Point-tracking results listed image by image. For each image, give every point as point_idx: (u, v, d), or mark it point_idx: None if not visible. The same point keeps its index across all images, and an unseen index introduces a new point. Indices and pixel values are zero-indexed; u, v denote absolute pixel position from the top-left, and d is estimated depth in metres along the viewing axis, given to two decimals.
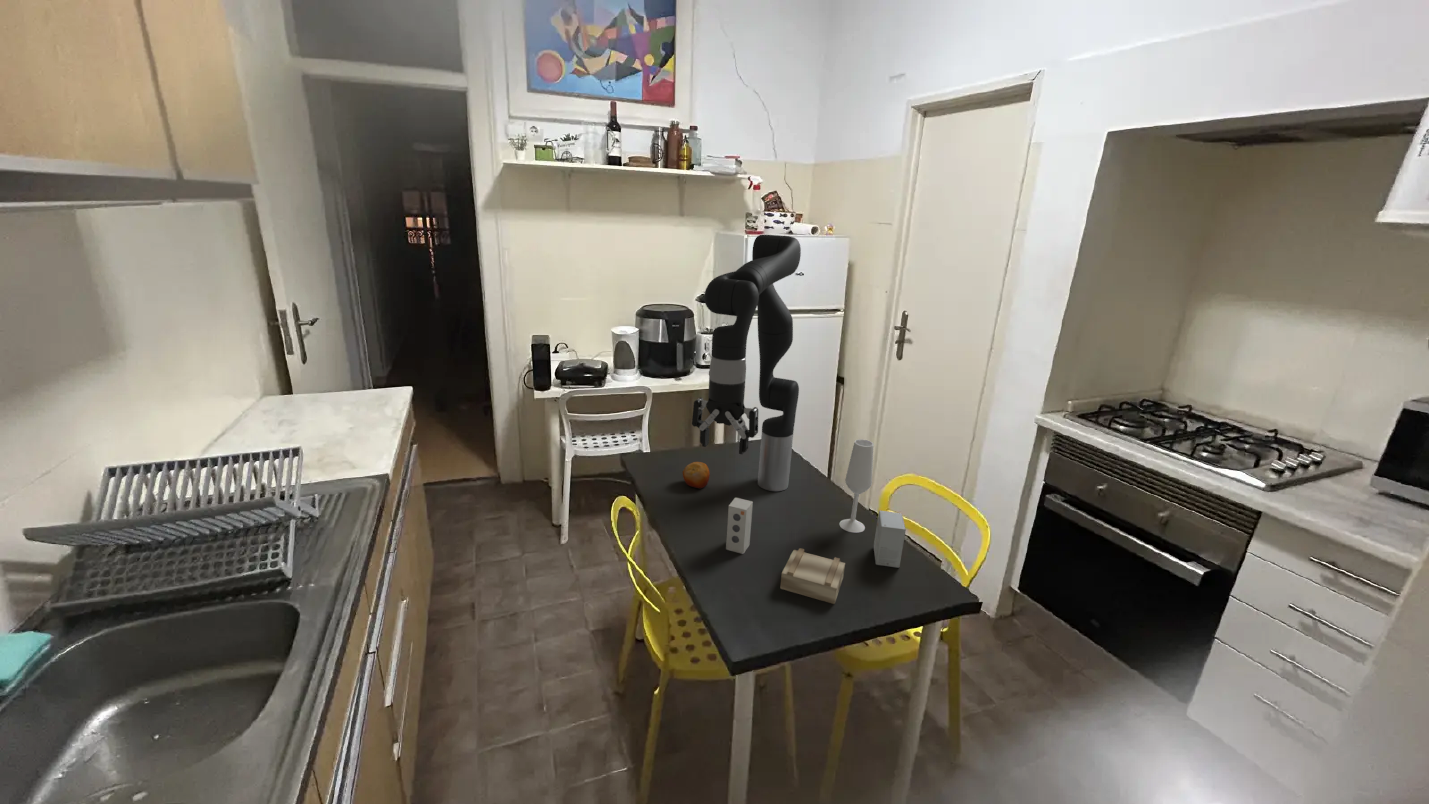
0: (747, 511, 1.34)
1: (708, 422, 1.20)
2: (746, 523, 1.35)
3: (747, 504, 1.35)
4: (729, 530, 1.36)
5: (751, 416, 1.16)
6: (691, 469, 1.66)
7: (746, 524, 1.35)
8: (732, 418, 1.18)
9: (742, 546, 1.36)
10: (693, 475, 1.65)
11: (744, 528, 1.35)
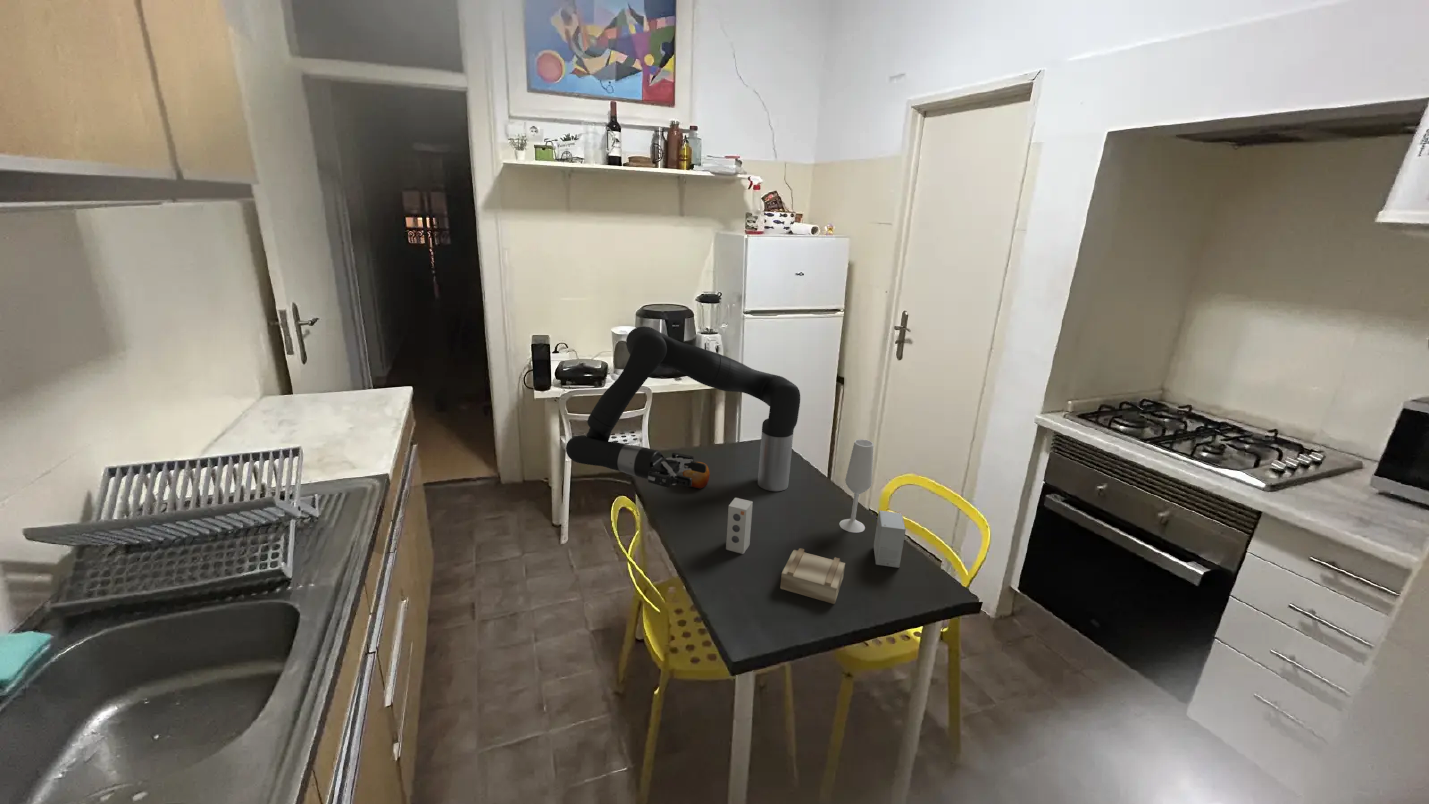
0: (747, 511, 1.34)
1: None
2: (746, 523, 1.35)
3: (747, 504, 1.35)
4: (729, 530, 1.36)
5: None
6: None
7: (746, 524, 1.35)
8: None
9: (742, 546, 1.36)
10: (693, 475, 1.65)
11: (744, 528, 1.35)
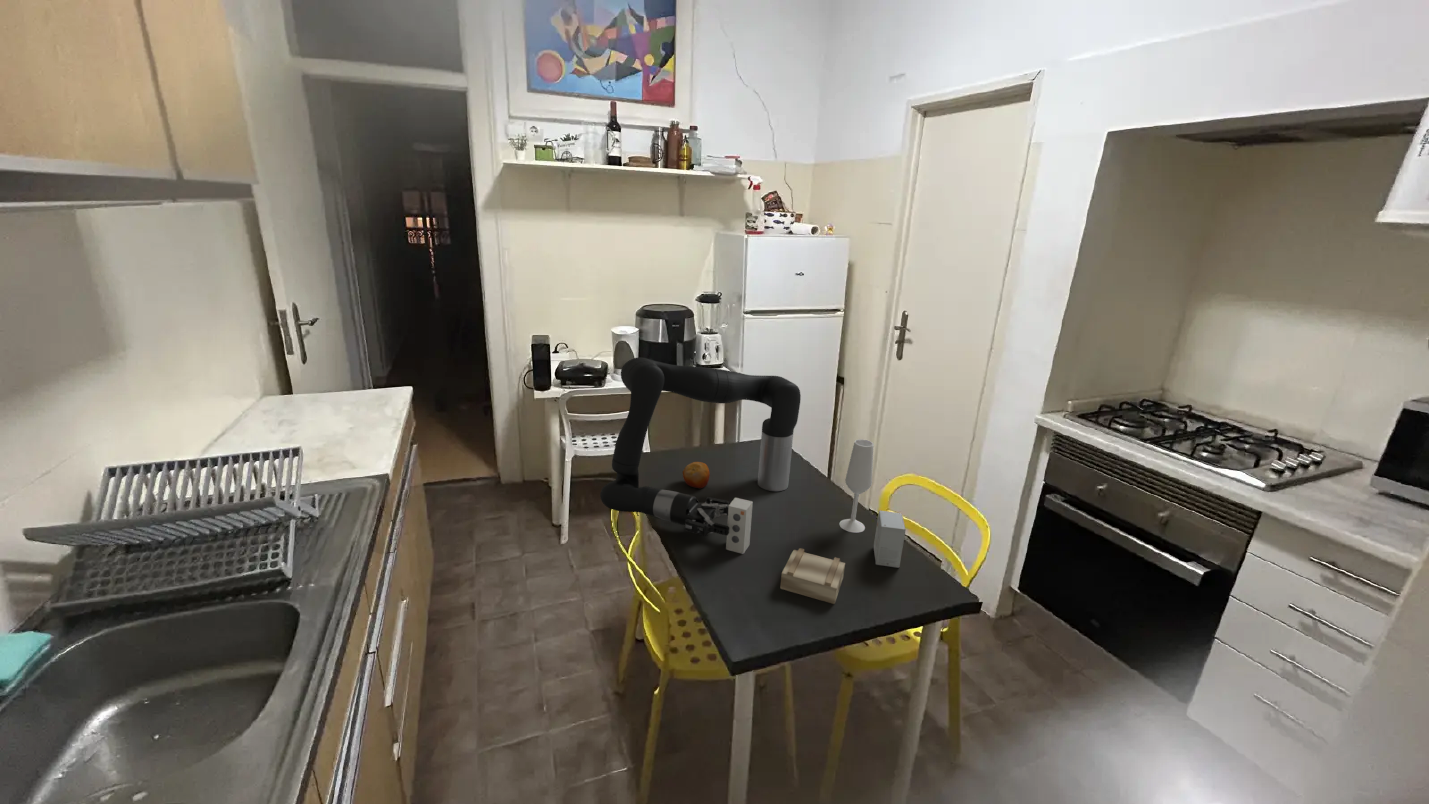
0: (747, 511, 1.34)
1: None
2: (746, 523, 1.35)
3: (747, 504, 1.35)
4: (729, 530, 1.36)
5: None
6: (691, 469, 1.66)
7: (746, 524, 1.35)
8: None
9: (742, 546, 1.36)
10: (693, 475, 1.65)
11: (744, 528, 1.35)
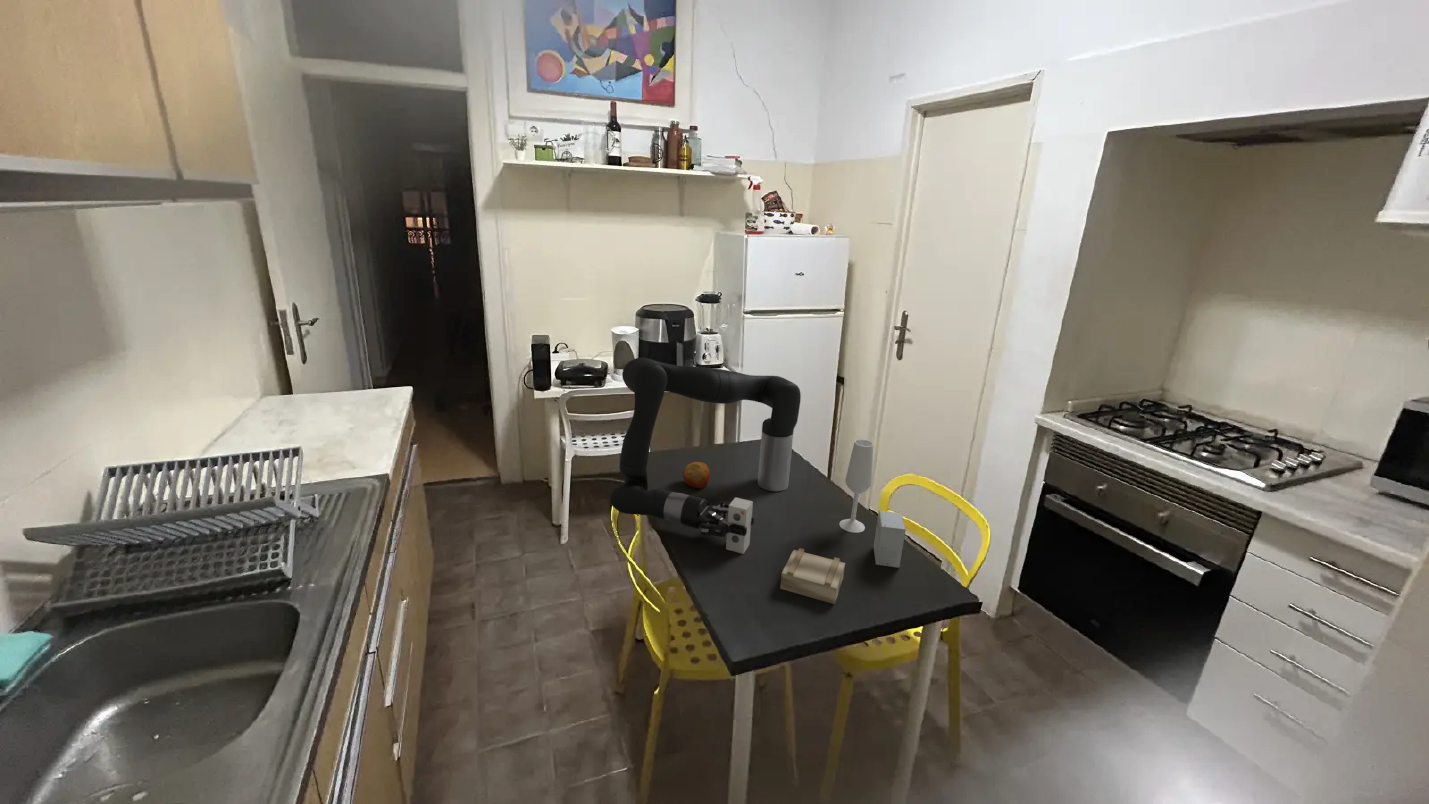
0: (747, 511, 1.34)
1: None
2: (746, 523, 1.35)
3: (747, 504, 1.35)
4: None
5: None
6: (691, 469, 1.66)
7: (746, 524, 1.35)
8: None
9: (742, 546, 1.36)
10: (693, 475, 1.65)
11: None
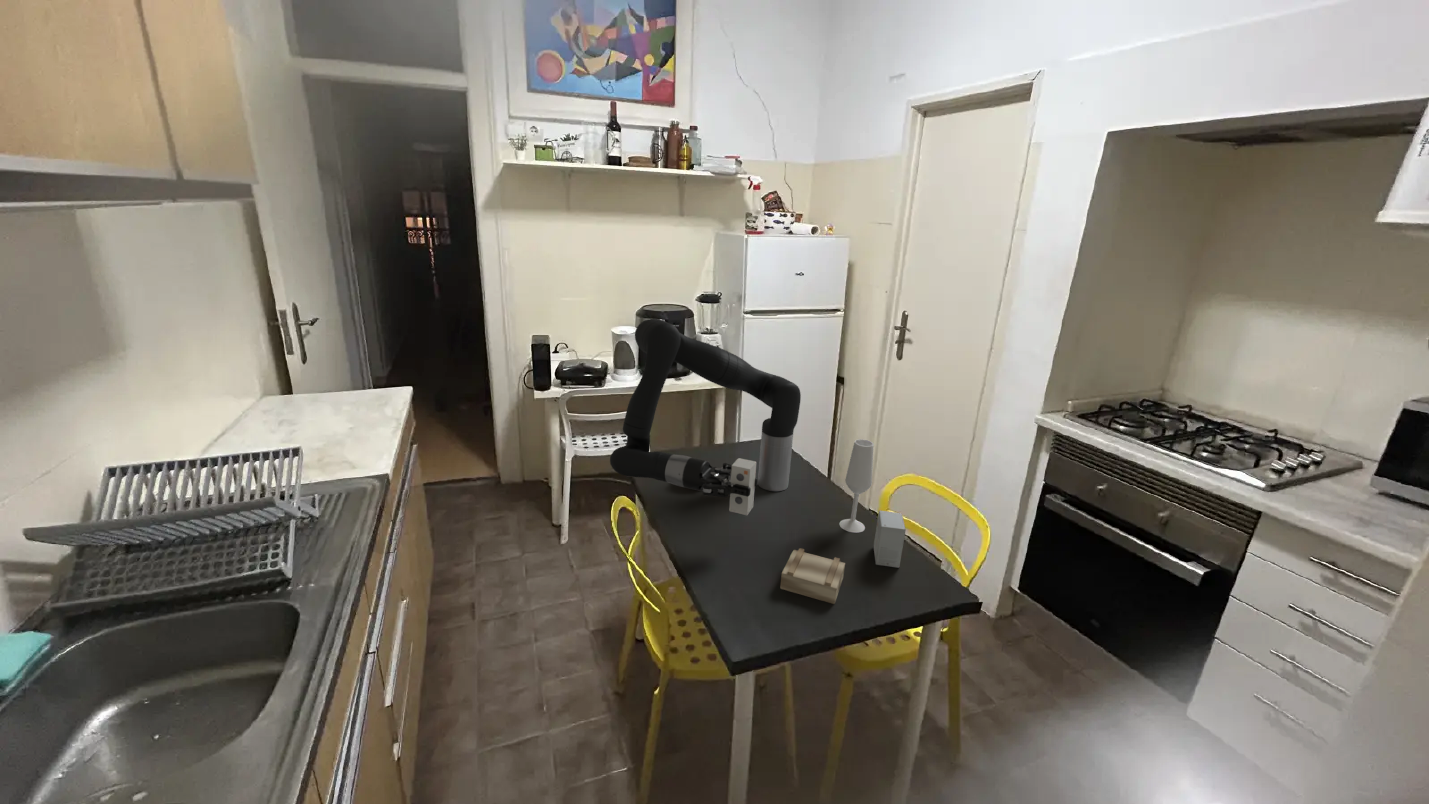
0: (751, 471, 1.30)
1: None
2: (750, 483, 1.31)
3: (751, 464, 1.32)
4: None
5: None
6: None
7: (750, 484, 1.32)
8: None
9: (746, 507, 1.33)
10: None
11: None
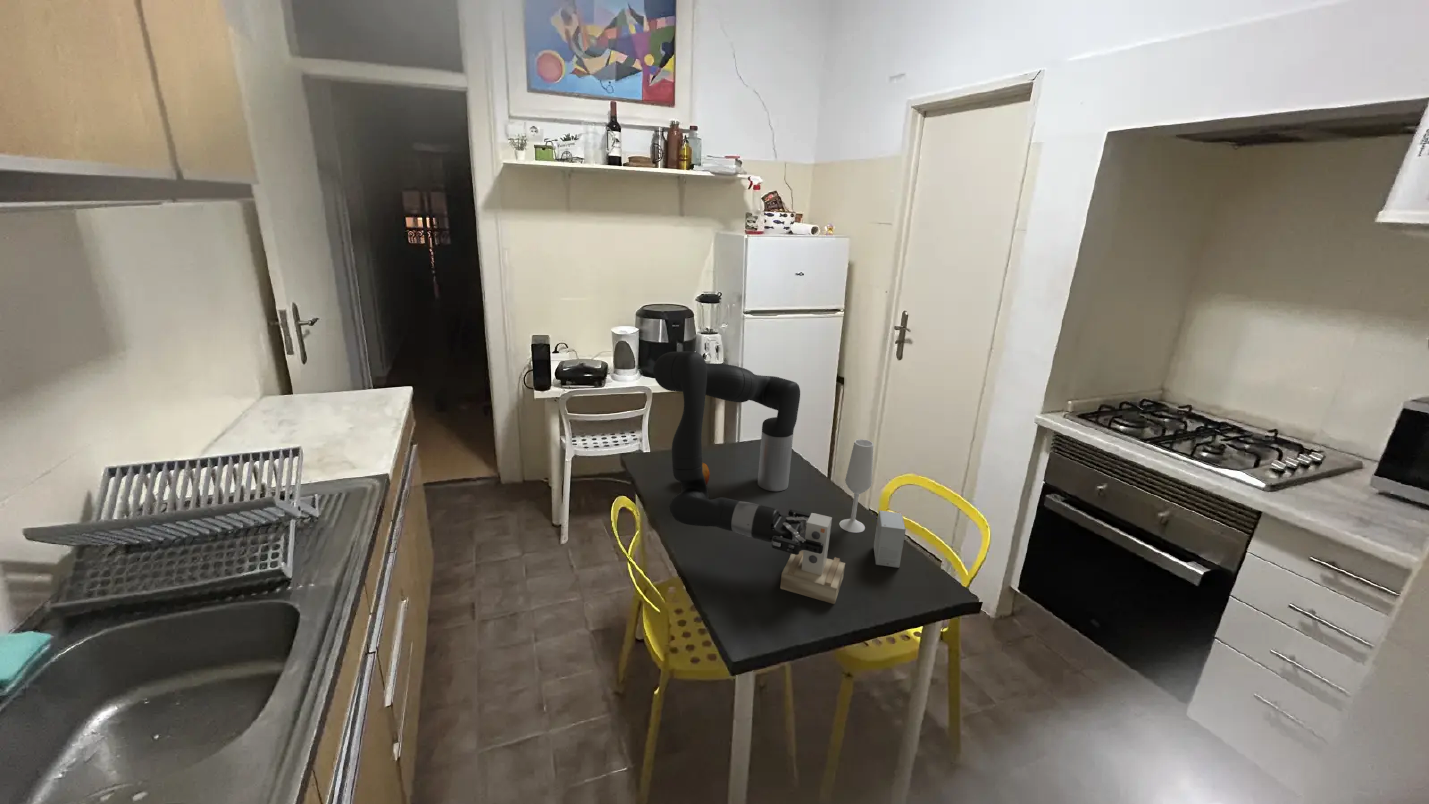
0: (828, 528, 1.21)
1: None
2: (826, 541, 1.21)
3: (827, 520, 1.22)
4: None
5: None
6: None
7: (826, 543, 1.22)
8: None
9: (820, 567, 1.23)
10: None
11: (824, 547, 1.21)
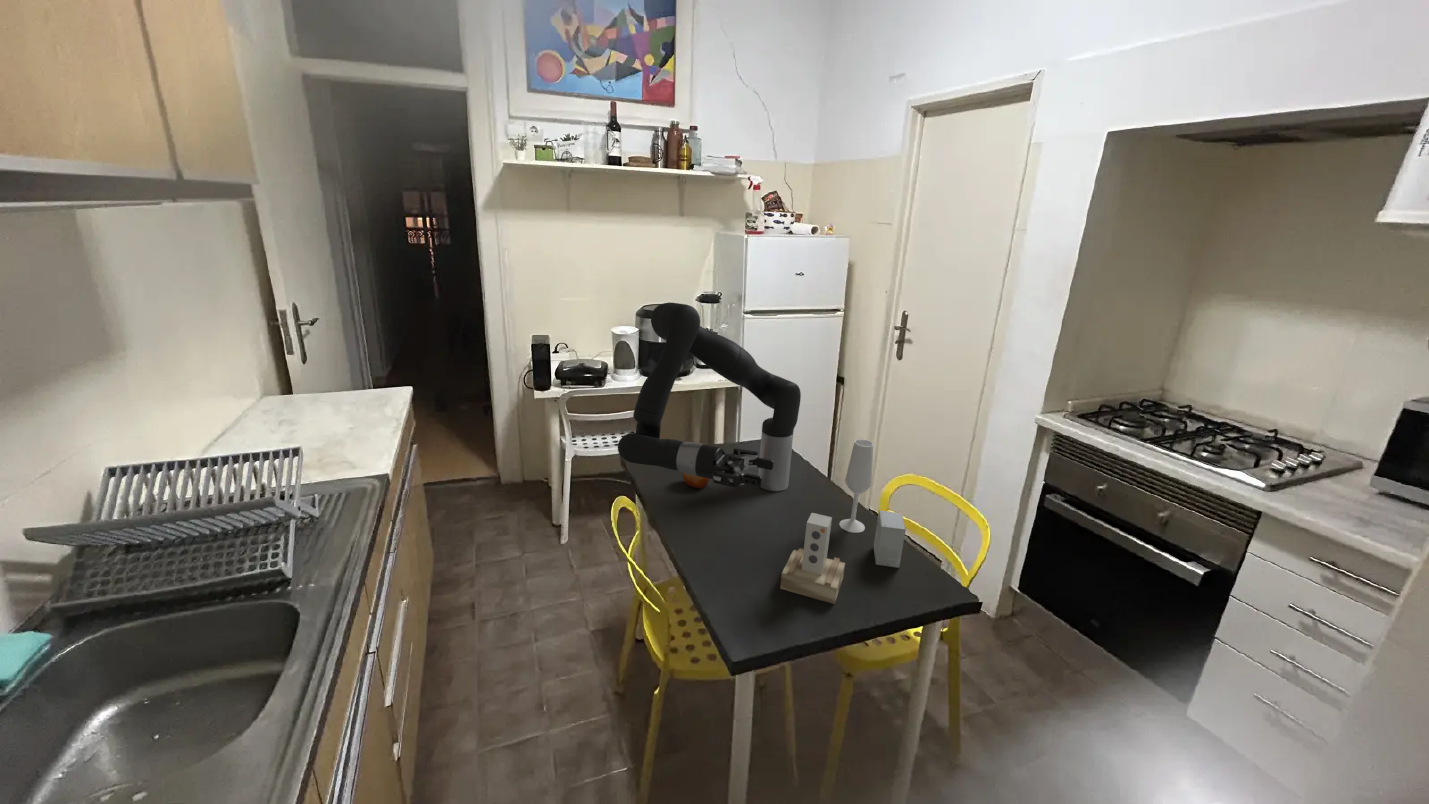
0: (828, 528, 1.21)
1: None
2: (826, 541, 1.21)
3: (827, 520, 1.22)
4: (806, 549, 1.23)
5: None
6: None
7: (826, 543, 1.22)
8: None
9: (820, 567, 1.23)
10: (693, 475, 1.65)
11: (824, 547, 1.21)
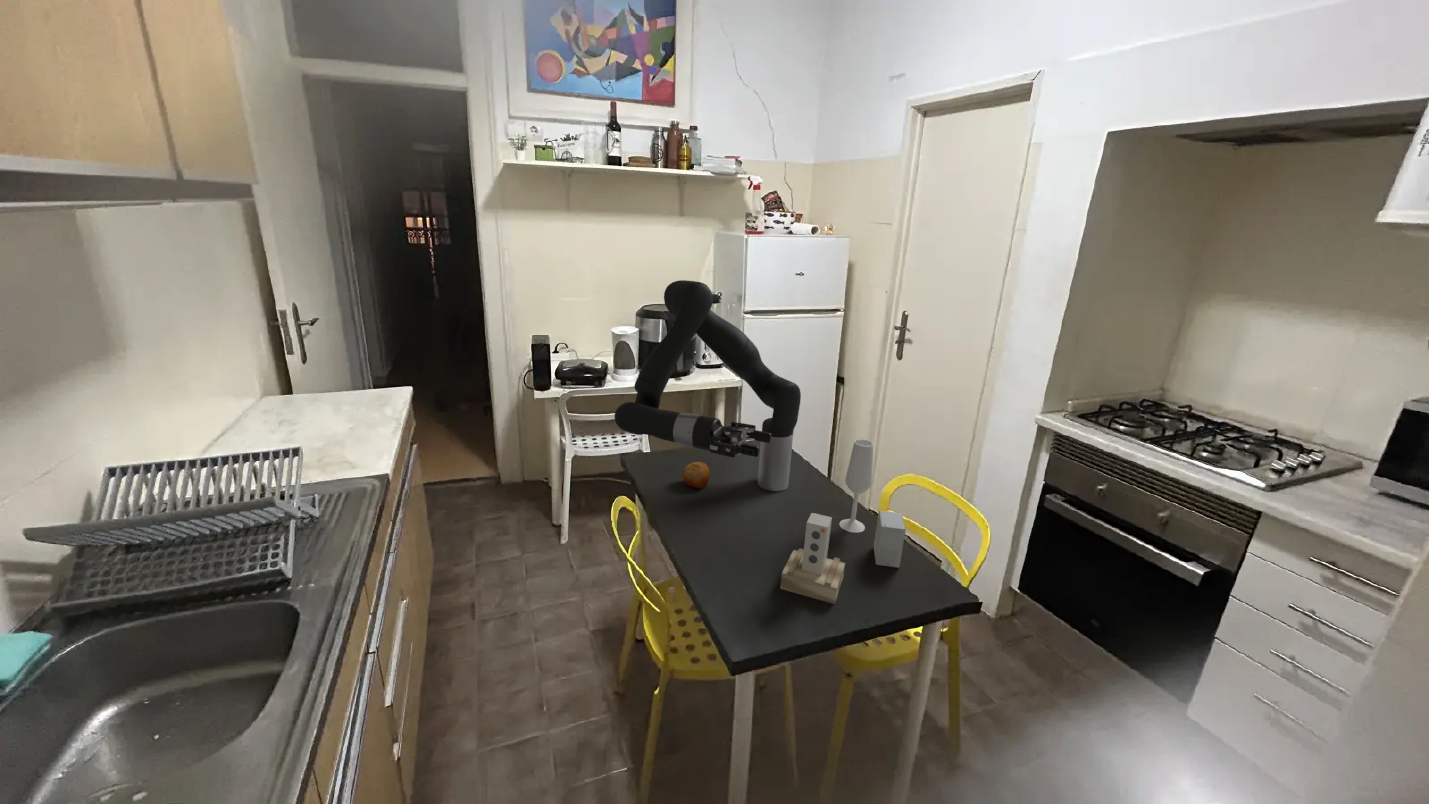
0: (828, 528, 1.21)
1: None
2: (826, 541, 1.21)
3: (827, 520, 1.22)
4: (806, 549, 1.23)
5: None
6: (691, 469, 1.66)
7: (826, 543, 1.22)
8: None
9: (820, 567, 1.23)
10: (693, 475, 1.65)
11: (824, 547, 1.21)
